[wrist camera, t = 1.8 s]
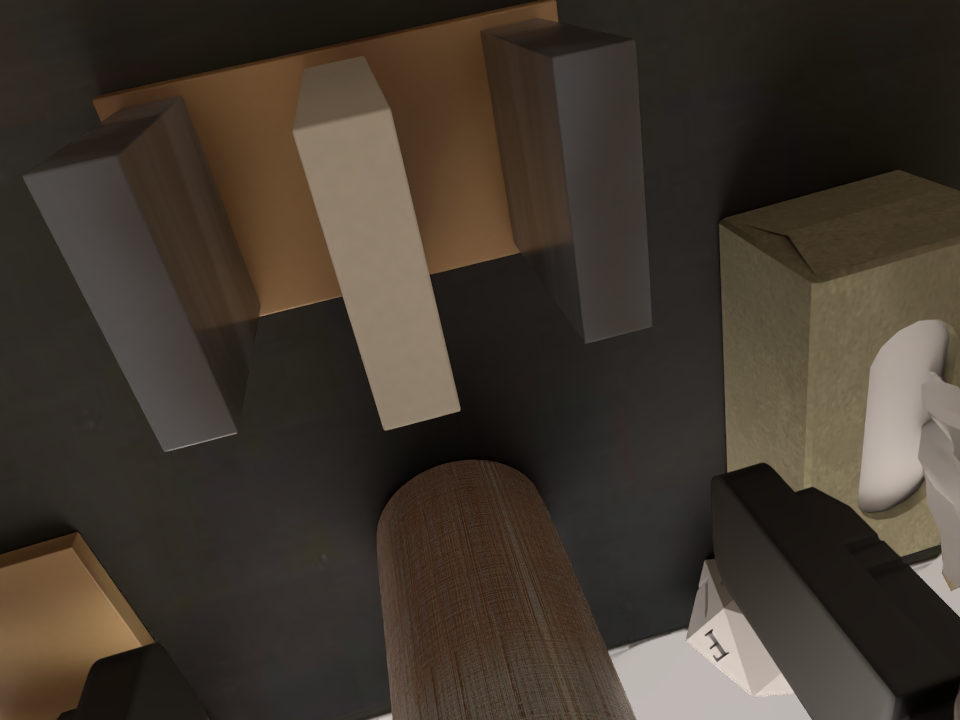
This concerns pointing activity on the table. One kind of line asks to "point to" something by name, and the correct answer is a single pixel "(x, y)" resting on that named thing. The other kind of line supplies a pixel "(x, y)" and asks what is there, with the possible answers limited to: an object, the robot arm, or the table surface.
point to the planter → (486, 605)
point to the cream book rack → (57, 626)
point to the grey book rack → (292, 213)
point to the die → (731, 638)
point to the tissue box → (851, 352)
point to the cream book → (374, 240)
